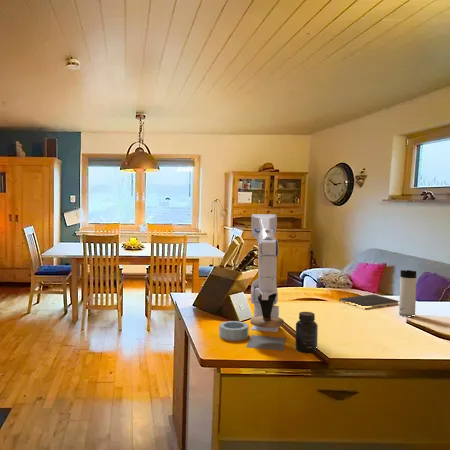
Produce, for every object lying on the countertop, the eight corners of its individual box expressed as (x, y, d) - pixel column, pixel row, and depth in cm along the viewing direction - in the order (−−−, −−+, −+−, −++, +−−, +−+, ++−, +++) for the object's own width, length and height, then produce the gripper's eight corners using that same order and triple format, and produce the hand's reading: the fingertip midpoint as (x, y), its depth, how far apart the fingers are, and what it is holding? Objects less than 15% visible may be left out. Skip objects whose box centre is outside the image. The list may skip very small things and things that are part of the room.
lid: (284, 320, 129) (285, 304, 129) (282, 328, 118) (282, 311, 118) (253, 317, 132) (253, 302, 132) (247, 326, 121) (248, 309, 121)
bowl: (250, 333, 136) (250, 322, 135) (245, 342, 126) (245, 330, 126) (223, 330, 138) (223, 320, 138) (216, 340, 128) (216, 328, 128)
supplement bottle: (292, 346, 123) (293, 310, 122) (313, 346, 123) (314, 310, 123) (298, 354, 116) (299, 316, 115) (320, 354, 116) (321, 316, 116)
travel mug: (399, 316, 160) (400, 269, 159) (398, 312, 166) (400, 267, 165) (415, 318, 158) (417, 271, 157) (414, 314, 164) (415, 268, 163)
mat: (285, 339, 130) (285, 338, 130) (283, 351, 118) (283, 350, 118) (251, 336, 132) (251, 335, 132) (245, 348, 121) (245, 347, 121)
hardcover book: (399, 305, 181) (399, 300, 181) (363, 310, 171) (363, 305, 171) (372, 298, 195) (373, 294, 195) (339, 302, 185) (339, 298, 185)
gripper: (258, 272, 132) (258, 310, 133) (252, 279, 118) (251, 321, 119) (278, 273, 131) (278, 311, 131) (274, 280, 117) (274, 323, 117)
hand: (267, 316), depth 125 cm, fingers closed on lid, 3 cm apart
